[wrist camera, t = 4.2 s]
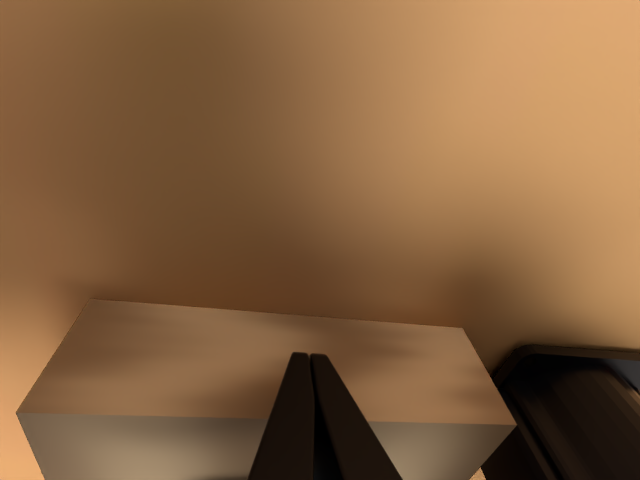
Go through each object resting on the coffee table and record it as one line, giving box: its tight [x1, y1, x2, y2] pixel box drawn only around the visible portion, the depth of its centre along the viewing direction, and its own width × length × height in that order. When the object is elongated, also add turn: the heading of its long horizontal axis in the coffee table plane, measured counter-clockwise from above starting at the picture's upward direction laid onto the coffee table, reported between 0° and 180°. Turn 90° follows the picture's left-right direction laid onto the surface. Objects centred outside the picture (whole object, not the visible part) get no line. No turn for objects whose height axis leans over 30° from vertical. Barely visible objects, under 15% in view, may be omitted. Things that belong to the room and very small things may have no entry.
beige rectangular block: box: [16, 299, 517, 480], centre depth 13 cm, size 12×10×4 cm
